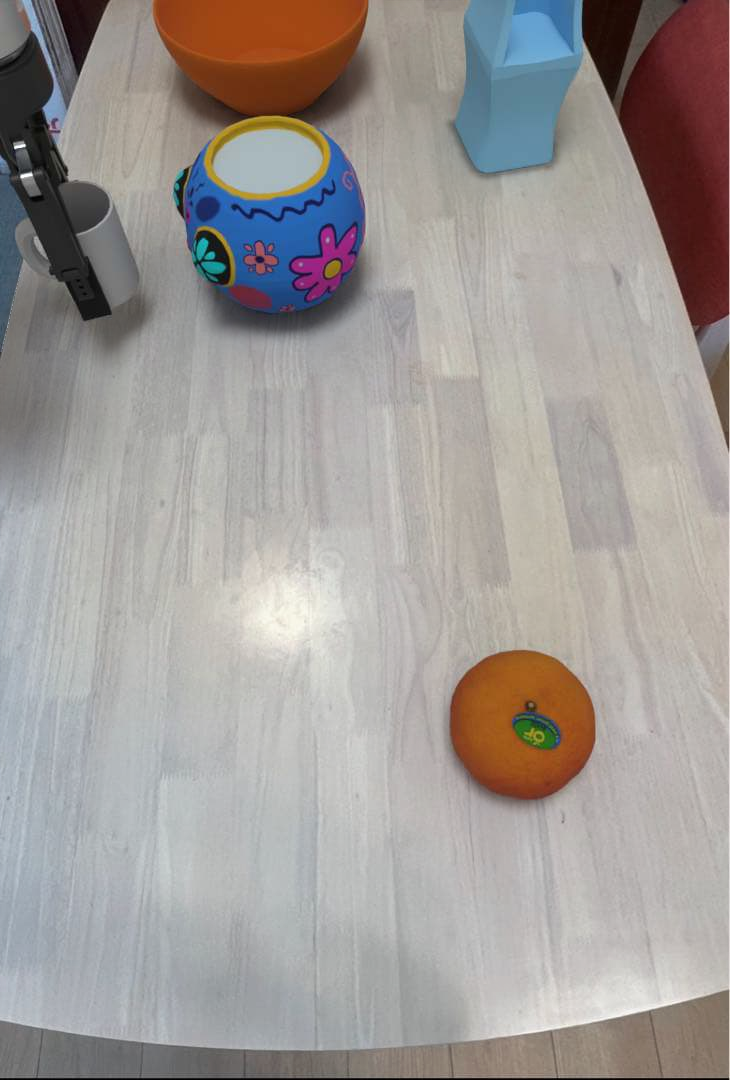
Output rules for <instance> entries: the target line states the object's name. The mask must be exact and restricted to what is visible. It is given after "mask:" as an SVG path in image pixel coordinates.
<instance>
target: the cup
mask: <svg viewBox="0 0 730 1080" xmlns="http://www.w3.org/2000/svg"><path fill="white" fill-rule="evenodd" d="M70 181H71V182H70ZM70 181H69V182H65V183H62V184H60V186H59V190H60V193H61V195H62V198H63V200H64V203H65V206H66V208H67V211H68V214H69V216H70V219H71V222H72V224H73V227H74V229H75V232H76V235H77V237H78V240H79V243H80V245H81V248H82V251H83V253H84V256H88V258H89V260H90V262H91V265H92V267H93V269H94V272H95V274H96V276H97V279H98V281H99V283H100V285H101V288H102V290H103V292H104V295H105V297H106V299H107V301H108V304H109V306H110V308H111V309H114V308H117V307H120V306H121V305H123V304H125V303H126V302H127V301H129V299H131V298H132V297H133V296H134V294H135V293H136V291H137V289H138V286H139V284H140V272H139V268H138V265H137V262H136V260H135V257H134V254H133V251H132V248H131V246H130V243H129V241H128V237H127V234H126V231H125V230H124V227H123V224H122V222H121V219H120V216H119V213H118V210H117V207H116V205H115V202H114V200H113V197H112V195H111V193H110V192H109V191H108V190H107V189H106V188H105V187H104V186H102V185H101V184H98V183H97V182H92V181H88V180H78V181H74V180H70ZM14 231H15V232H14V238H15V241H16V246H17V249H18V251H19V254H20V255H21V257H22V259H23V261H24V262H25V263H26V264H27V265H28V266H29V268H31V269H32V270H33V271H34V272H35V273H37V275H40V276H42V277H44V278H46V279H50V280H55V281H56V280H57V281H58V279H56V277H55V275H53V276H51V275H50V273H49V266H51V264H50V262H49V260H48V258H46V257H45V256H44V255H43V254H42V253H41V252H40V250H39V249H38V247H37V245H36V243H35V237H38V236H37V234H36V232H35V229H34V227H33V225H32V223H31V221H30V219H29V217H27V218H24V219H23V220H22V221H20V222H19V223H18V225H17V226H16V228H15V230H14ZM61 284H62V287H63V288H64V290H65V292H66V294H67V296H68V298H69V299H71V300H72V302H74V300H73V298H72V296H71V294H70V292H69V290H68V288H67V286H66V284H65V282H61Z"/></svg>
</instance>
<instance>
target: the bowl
mask: <svg viewBox="0 0 730 1080" xmlns="http://www.w3.org/2000/svg"><path fill="white" fill-rule="evenodd" d="M368 13H369V0H153V2H152V17H153V21H154V24H155V28H156V30H157V33H158V35H159V38H160V39H161V41H162V44H163V46H164V47H165V49H166V51H167V52H168V53H169V55H170V57H171V58H172V59H173V61H174V62H175V63H176V64H177V66H178V67H179V69H181V70H182V71H183V72H184V74H186V75H187V76H188V77H189V78H190V80H191V81H192V82H194V83H195V84H196V85H197V86H199V88H201V89H202V90H203V91H205V92H206V93H208V94H209V95H211V96H212V97H213V98H215V99H217V100H219V101H220V102H222V103H223V104H225V105H226V106H227V107H229V108H230V109H232V110H234V111H236V112H238V113H240V114H242V115H243V114H244V115H247V116H250V117H260V116H283V117H285V116H288V115H291V114H295V113H298V112H300V111H302V110H304V109H306V108H309V106H311V105H312V104H313V103H315V102H316V101H317V100H318V99H319V98H320V96H322V94H323V93H324V92H325V91H326V90H327V89H328V88H329V87H330V86H331V85H332V84H333V83H334V82H335V81H337V79H338V78H339V76H340V75H341V74H342V72H343V71H345V69H346V67H347V66H348V65H349V62H350V61H351V59H352V58H353V56H354V55H355V52H356V51H357V49H358V47H359V45H360V42H361V39H362V36H363V34H364V31H365V27H366V23H367V19H368Z"/></svg>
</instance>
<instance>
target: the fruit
mask: <svg viewBox="0 0 730 1080" xmlns="http://www.w3.org/2000/svg"><path fill="white" fill-rule="evenodd" d="M449 713H450V714H449V733H450V739H451V743H452V746H453V749H454V753H455V754H456V756H457V757H458V759H459V760H460V761H461V763H462V764H463V766H464V767H465V769H467V771H468V772H469V773H470V775H471V776H472V777H473V778H474V780H475V781H476V782H477V783H479V784H480V785H481V786H483V787H485V788H486V789H488V790H489V791H491V792H493V793H496V794H499V795H502V796H504V797H505V796H506V797H510V798H514V799H515V798H516V799H519V800H527V801H531V800H535V801H536V800H540V799H544V798H547V797H550V796H552V795H554V794H555V793H556V794H557V793H558V792H559V791H560V790H562V789H563V788H564V787H565V786H567V785H568V783H570V782H571V781H572V780H574V779H575V777H577V776H578V775H579V774H580V773H581V771H582V770H583V769H584V768H585V767H586V765H587V763H588V761H589V760H590V758H591V755H592V752H593V751H594V746H595V744H596V739H597V737H596V733H597V731H596V728H597V727H596V713H595V708H594V704H593V701H592V698H591V695H590V694H589V691H588V690H587V688H586V687H585V686H584V684H583V683H582V682H581V680H580V679H579V678H578V676H577V675H576V674H574V673H573V671H571V670H570V669H569V668H568V666H566V665H565V664H564V663H563V662H562V661H560V660H559V659H558V658H556V657H554V656H551V655H549V654H546V653H544V652H540V651H536V650H529V649H512V650H505V651H500V652H497V653H493V654H491V655H488V656H485V658H482V659H481V660H480V661H479V662H478V663H477V662H476V664H474V666H472V667H471V668H470V669H468V670H467V671H466V672H465V674H463V676H462V677H461V678H460V679H459V681H458V683H457V684H456V687H455V689H454V691H453V693H452V695H451V701H450V706H449Z"/></svg>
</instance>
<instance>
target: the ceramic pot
mask: <svg viewBox="0 0 730 1080" xmlns="http://www.w3.org/2000/svg"><path fill="white" fill-rule="evenodd" d="M362 191H363V190H362V188H361V185H360V182H359V179H358V175H357V172H356V170H355V168H354V166H353V164H352V163H351V161H350V159H349V158H348V156H347V155H346V154H345V151H343V149H342V148H341V147H340V145H338V143H336V141H335V140H333V138H332V137H330V136H329V135H328V134H326V132H324V131H323V130H322V129H320V128H318V127H316V126H315V125H312V124H310V123H307V122H306V121H303V120H301V119H299V118H293V117H289V116H260V117H256V116H254V117H251V118H246V119H243V120H240V121H238V122H236V123H233V124H230V125H228V126H226V127H225V128H223V129H222V130H221V131H219V133H218V132H217V134H215V135H214V136H213V137H212V138H211V139H210V140H209V141H207V143H206V144H205V146H204V147H203V148H202V150H200V152H199V153H198V154H197V157H196V158H195V160H194V162H193V164H190V165H189V166H187V167H185V168H184V169H181V170H180V172H178V174H177V175H176V178H175V180H174V184H173V194H172V195H173V201H174V203H175V207H176V210H177V212H178V213H179V215H180V216H181V218H182V220H183V221H184V225H185V231H186V244H187V248H188V250H189V252H190V253H191V259H192V262H193V265H194V267H195V269H196V272H197V273H198V275H200V276H201V277H202V278H203V279H204V280H205V281H207V282H209V283H212V284H213V285H214V286H215V287H216V288H218V289H219V290H220V291H221V292H222V293H224V295H226V296H227V297H228V298H230V299H232V300H233V301H235V302H236V303H238V304H239V305H241V306H243V307H246V308H248V309H250V310H254V311H259V312H265V313H271V314H281V313H282V314H283V313H293V312H294V313H295V312H300V311H303V310H305V309H309V308H311V307H313V306H317V305H320V304H321V303H322V302H323V301H325V300H327V299H328V298H330V297H331V296H332V295H333V294H334V293H335V292H336V291H337V290H338V288H339V287H340V286H342V284H343V283H344V282H345V281H346V279H347V278H348V277H349V276H350V274H351V272H353V269H354V267H355V264H356V262H357V259H358V257H359V255H360V251H361V249H362V247H363V244H364V240H365V235H366V227H367V226H366V225H367V224H366V223H367V222H366V204H365V198H364V194H363V192H362Z"/></svg>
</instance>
